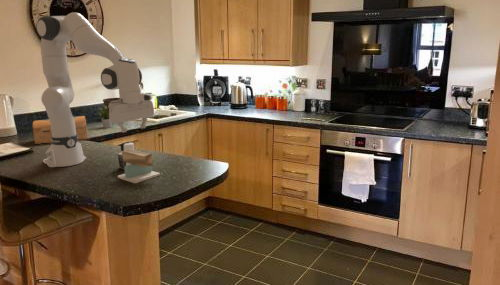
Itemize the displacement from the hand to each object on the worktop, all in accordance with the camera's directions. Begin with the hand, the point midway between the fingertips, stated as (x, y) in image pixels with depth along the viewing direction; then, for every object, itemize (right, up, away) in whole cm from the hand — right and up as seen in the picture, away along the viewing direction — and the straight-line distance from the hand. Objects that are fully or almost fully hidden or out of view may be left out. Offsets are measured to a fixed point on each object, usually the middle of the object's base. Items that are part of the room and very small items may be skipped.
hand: (133, 130), depth 180 cm
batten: (+1, -14, +3) cm, 15 cm away
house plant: (-52, +5, +120) cm, 131 cm away
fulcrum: (+1, -20, +5) cm, 21 cm away
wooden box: (-69, -4, +87) cm, 111 cm away
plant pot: (-57, +13, +153) cm, 163 cm away
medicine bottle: (-7, -17, +19) cm, 27 cm away
